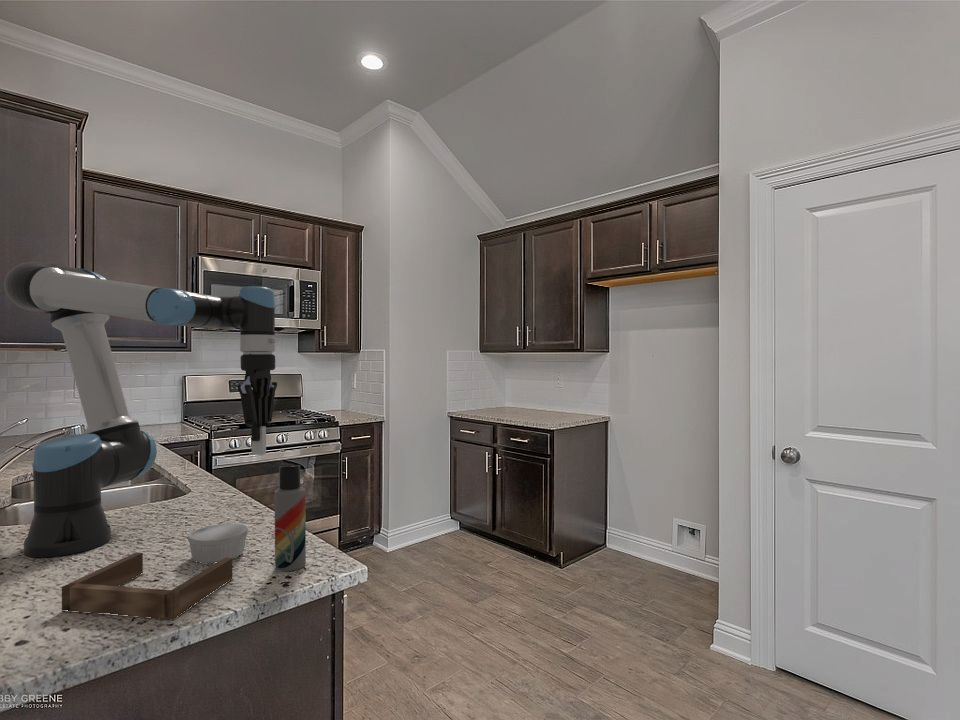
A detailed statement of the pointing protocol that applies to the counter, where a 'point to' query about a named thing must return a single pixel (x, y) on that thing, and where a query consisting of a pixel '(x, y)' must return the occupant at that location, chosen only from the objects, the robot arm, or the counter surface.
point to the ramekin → (217, 542)
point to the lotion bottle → (290, 520)
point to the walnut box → (140, 590)
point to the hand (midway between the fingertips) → (259, 454)
